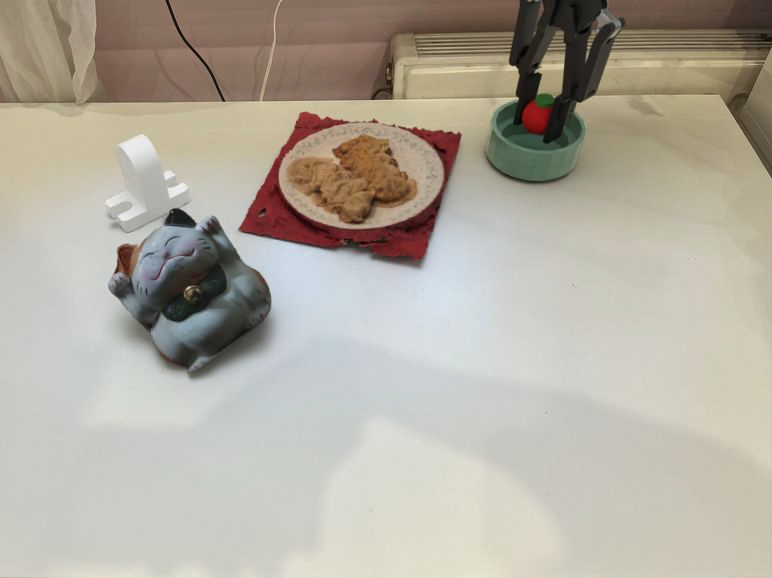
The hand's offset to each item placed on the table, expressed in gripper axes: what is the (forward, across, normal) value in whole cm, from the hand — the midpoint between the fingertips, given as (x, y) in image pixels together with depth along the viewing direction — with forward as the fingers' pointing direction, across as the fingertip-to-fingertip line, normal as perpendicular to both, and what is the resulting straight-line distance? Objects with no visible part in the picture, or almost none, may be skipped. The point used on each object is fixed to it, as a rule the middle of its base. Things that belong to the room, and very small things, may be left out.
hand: (536, 129), depth 91 cm
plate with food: (+4, -10, -23) cm, 25 cm away
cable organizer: (+5, -24, -46) cm, 52 cm away
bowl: (+4, 0, 0) cm, 4 cm away
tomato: (0, 0, 0) cm, 0 cm away
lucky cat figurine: (+4, -3, -52) cm, 52 cm away
